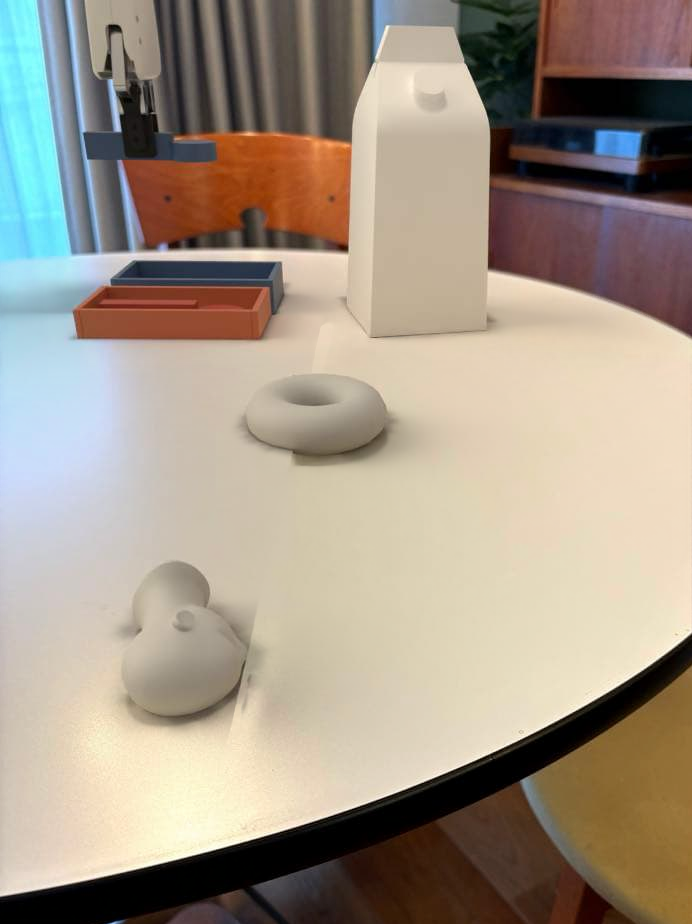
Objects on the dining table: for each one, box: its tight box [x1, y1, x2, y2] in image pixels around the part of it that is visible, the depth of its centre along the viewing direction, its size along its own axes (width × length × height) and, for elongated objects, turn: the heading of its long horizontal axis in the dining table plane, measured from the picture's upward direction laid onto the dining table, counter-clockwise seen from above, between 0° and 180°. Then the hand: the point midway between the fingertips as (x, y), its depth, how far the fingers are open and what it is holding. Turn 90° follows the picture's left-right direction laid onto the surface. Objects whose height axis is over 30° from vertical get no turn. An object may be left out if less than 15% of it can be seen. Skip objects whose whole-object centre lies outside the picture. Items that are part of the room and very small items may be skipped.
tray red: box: [72, 285, 272, 340], centre depth 80 cm, size 17×9×4 cm, turn 91°
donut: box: [245, 373, 388, 456], centre depth 59 cm, size 10×4×10 cm
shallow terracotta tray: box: [99, 300, 244, 310], centre depth 80 cm, size 14×5×3 cm, turn 92°
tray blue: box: [109, 259, 285, 315], centre depth 90 cm, size 17×9×4 cm, turn 91°
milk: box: [346, 24, 491, 338], centre depth 80 cm, size 12×12×26 cm
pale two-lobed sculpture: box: [120, 559, 248, 717], centre depth 36 cm, size 4×8×5 cm
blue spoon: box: [82, 130, 218, 164], centre depth 88 cm, size 14×5×3 cm, turn 93°
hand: (143, 155), depth 88 cm, fingers closed on blue spoon, 1 cm apart
